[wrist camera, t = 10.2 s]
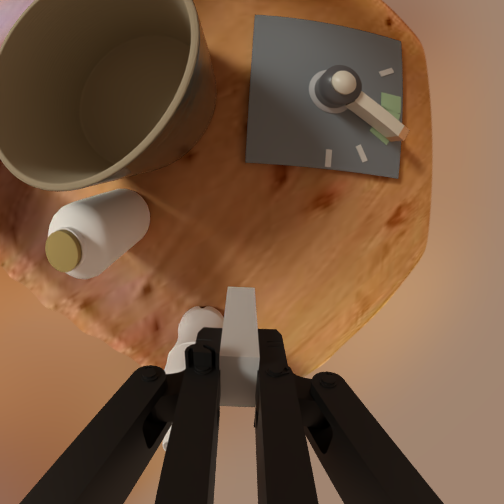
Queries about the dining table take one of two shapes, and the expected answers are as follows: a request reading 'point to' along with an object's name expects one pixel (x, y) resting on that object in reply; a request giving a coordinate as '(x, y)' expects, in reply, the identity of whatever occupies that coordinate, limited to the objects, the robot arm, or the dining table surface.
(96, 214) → the potion bottle
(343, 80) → the peg lever
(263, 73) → the dial board
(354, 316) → the dining table surface
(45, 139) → the planter
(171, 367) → the water bottle
